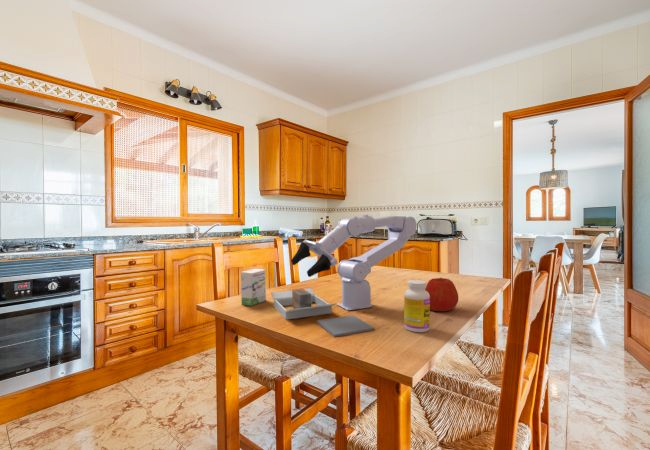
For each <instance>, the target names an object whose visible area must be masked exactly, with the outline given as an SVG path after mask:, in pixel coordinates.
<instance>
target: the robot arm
mask: <svg viewBox="0 0 650 450" xmlns="http://www.w3.org/2000/svg"><path fill="white" fill-rule="evenodd" d="M383 227H386V229H387V235H388V236H387V238H388V239H387V240H385V241H384V242H382V243H380V244H378V245H376V246H375V247H373V248H372V249H370V250H368V251H366V252H365V253H363V254H361V255H360V256H355V257H351V258H349V259H343V260H340V262H339V261H338V259H337V257H334V256H333V255H332V254H333V253H334V252H335V251H336V250H338V248H340V247H341V246H342V245H343V244H345V242H347V241H348V240H349V239H350V238H351V237H352V236H354V237H355V236H359V235H361V234H366V233H372V232H373V231H375V229H377V228H383ZM416 231H417V220H416V219H415V217H413V216H401V215H399V216H398V215H393V216H392V215H390V216H389V215H388V216H382V217H377V218H374V217H373V216H372V215H369V214H363V215H362V216H359V217H358V216H352V218H342V219H339V220H338V221H337V225H336V227H335V228H333V229H331V230H330V231H329V232H328V233H327V234H326V235H325V236H323V237H322V238H321V239H319V240H316V241H312V240H311V241H310V240H308V239H304V240H303V241H301V242H300V244H299V247H298V249H297V251H296V253H295V254H294V255H293V257H292V258H291V260H290V262H291V264H292V266H295V265H297V264H299V263H300V261H302V260H304V259H306V258H308V257H311V252H312V253H314V254H315V255H317V256H318V257H319V258H318V260H317V261H316V262H315V263H314V264H313V265H312V266H311V267H310V268H308V270H307V271H306V274H307V276H308V278H310V277H312V276H315V275H316V274H319V273H322V272H326V271H330V270H331V266H332V267H335V266H336V265H337V274H338V275H339V276H340V280H341V302H337V305H336V306H339V307H341V308H343V310H346V311H354V310H361V309H367V308H368V309H369V308H372V307H373V305H372V303H371V302H372V300H371V299H372V297H371V292H372V291H371V290H372V289H371V286H370V283H369V281H368V280H367V279H366V278H367V276H368V275H369V274H370V273H372V267H374V266H376V265H377V264H379V263H380V262H383V260H385V259H386V258H389V257H390V256H392V255H393V254H395V253H397V252H398V251H399V250H401V249H403V247H405V245H406V243H407V242H408V241H409V239H410V238H411V237H412V236H414V235H416ZM338 262H339V263H338Z"/></svg>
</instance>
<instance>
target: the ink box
mask: <svg viewBox="0 0 650 450" xmlns="http://www.w3.org/2000/svg"><path fill="white" fill-rule="evenodd" d="M266 274H267V273H266V269H262V268H251V269H248V270H244V271H241V272H240V283H241V285H240V289H241V290H240V293H241V299H240V300H241V305H243V306H249V307H252V306H255V305H258V304H260V303H263V302H266V301H267V290H266V289H267V288H266V287H267V285H266V281H267V280H266V277H267V276H266Z"/></svg>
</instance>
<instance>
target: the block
mask: <svg viewBox="0 0 650 450" xmlns="http://www.w3.org/2000/svg"><path fill="white" fill-rule="evenodd" d="M304 289H305V288H298V289H291V291H292V305H291V306H292V309H297V308H305V307H312V302H311V293H309V292H307V291H306V290H304Z"/></svg>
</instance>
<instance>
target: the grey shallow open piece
mask: <svg viewBox="0 0 650 450" xmlns="http://www.w3.org/2000/svg"><path fill="white" fill-rule="evenodd" d="M303 289H304V290H306V291H307V292H309V293H311V303H314V302H315V303H314V304H315V306H314V305H313V306H312V305H311V307H305V308H297V309H294V308H291V309H286V308H285V306H292V290H285V291H284V290H283V291H275V292H270V293H271V297H272V299H273V307H274V308H275V309H276V311H277V312H278V313H279V314H280V315H281V316H282V317H283V319H284V320H286V321H287V320H294V319H299V318H307V317H308V318H309V317H314V316H321V315H328V314H332V312H333V308H332V307H333V306H338V305H337V304H338V302H336V303H329V302H327V301H325V300H324V299H323V298H321V297H319V296H318V295H316V293H314V291H313V289H312V288H303Z"/></svg>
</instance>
